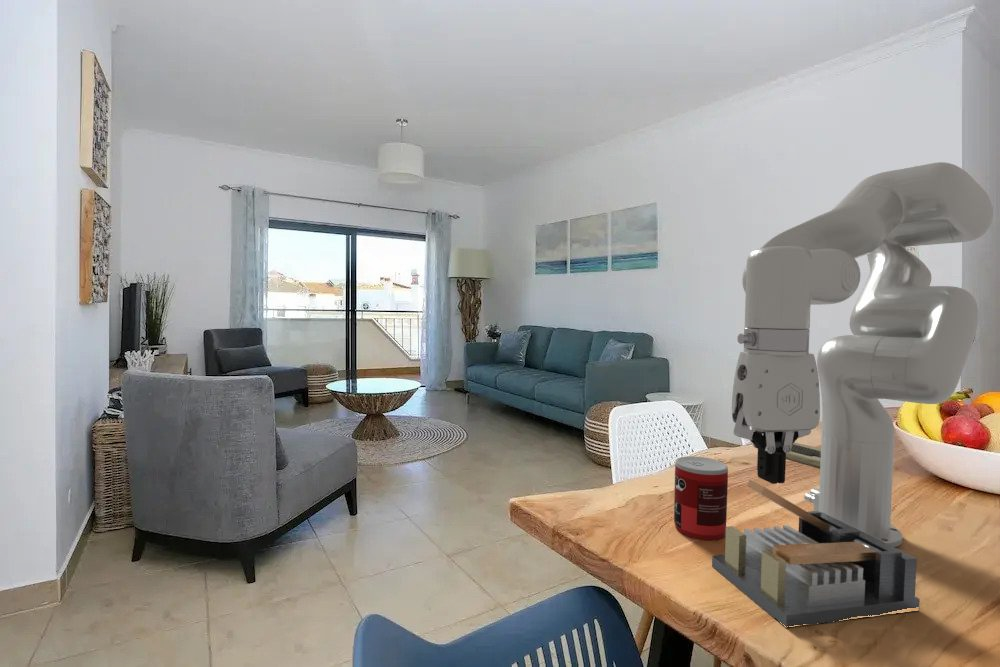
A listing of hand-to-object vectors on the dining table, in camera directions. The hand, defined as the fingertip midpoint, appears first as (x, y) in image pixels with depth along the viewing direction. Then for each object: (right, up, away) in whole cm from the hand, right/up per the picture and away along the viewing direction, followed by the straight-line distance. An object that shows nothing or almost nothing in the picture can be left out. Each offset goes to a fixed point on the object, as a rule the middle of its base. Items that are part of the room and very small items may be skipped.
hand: (770, 479), depth 68 cm
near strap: (+4, -8, -6) cm, 10 cm away
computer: (+38, -11, +53) cm, 66 cm away
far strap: (+3, -5, +1) cm, 6 cm away
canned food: (-4, -13, +15) cm, 20 cm away
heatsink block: (+4, -13, -2) cm, 14 cm away
